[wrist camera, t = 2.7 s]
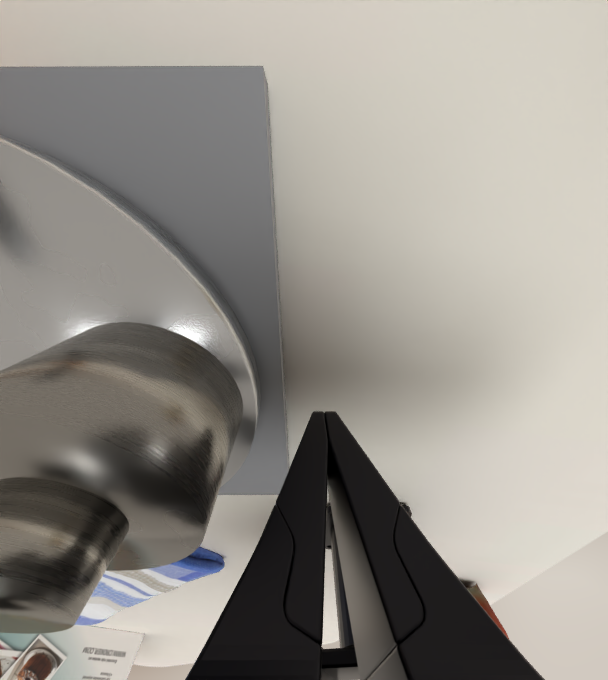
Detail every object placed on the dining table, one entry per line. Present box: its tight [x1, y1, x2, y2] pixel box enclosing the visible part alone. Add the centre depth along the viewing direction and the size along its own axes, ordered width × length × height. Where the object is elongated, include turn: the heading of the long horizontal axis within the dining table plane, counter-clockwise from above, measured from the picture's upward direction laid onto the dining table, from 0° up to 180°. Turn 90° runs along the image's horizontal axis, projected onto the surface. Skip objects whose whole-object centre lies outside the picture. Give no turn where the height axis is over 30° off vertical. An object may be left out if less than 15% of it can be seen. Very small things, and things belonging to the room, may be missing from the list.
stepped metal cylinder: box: [0, 322, 243, 634], centre depth 6 cm, size 7×7×6 cm
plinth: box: [0, 66, 289, 495], centre depth 10 cm, size 20×20×1 cm
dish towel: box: [74, 547, 225, 626], centre depth 21 cm, size 17×24×3 cm
